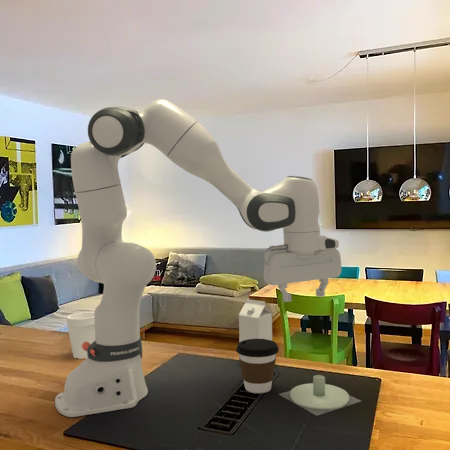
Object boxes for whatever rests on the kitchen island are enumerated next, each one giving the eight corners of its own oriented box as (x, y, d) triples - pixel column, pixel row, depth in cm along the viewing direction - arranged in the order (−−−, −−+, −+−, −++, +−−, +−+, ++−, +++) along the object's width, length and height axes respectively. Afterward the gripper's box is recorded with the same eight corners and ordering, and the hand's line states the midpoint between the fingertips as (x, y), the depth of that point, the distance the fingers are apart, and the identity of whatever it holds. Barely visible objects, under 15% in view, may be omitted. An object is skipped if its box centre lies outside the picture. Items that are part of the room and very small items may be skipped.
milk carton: (253, 357, 145) (252, 297, 145) (272, 362, 141) (271, 299, 140) (239, 364, 140) (238, 301, 139) (259, 369, 135) (257, 304, 135)
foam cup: (104, 353, 152) (103, 314, 152) (82, 362, 145) (80, 320, 144) (84, 349, 158) (83, 311, 157) (62, 357, 150) (60, 317, 149)
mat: (316, 418, 104) (316, 415, 104) (278, 396, 116) (278, 394, 116) (361, 403, 111) (361, 401, 111) (321, 384, 123) (321, 382, 123)
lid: (316, 415, 104) (316, 393, 104) (278, 394, 116) (278, 374, 116) (361, 401, 111) (361, 380, 111) (321, 382, 123) (321, 363, 123)
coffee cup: (230, 396, 117) (229, 348, 116) (244, 380, 127) (243, 336, 127) (273, 401, 113) (272, 352, 113) (283, 384, 123) (283, 339, 123)
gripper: (270, 247, 107) (272, 307, 108) (344, 240, 115) (345, 296, 116) (257, 245, 113) (260, 301, 114) (329, 238, 121) (331, 291, 122)
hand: (304, 298), depth 115 cm, fingers open, 8 cm apart
